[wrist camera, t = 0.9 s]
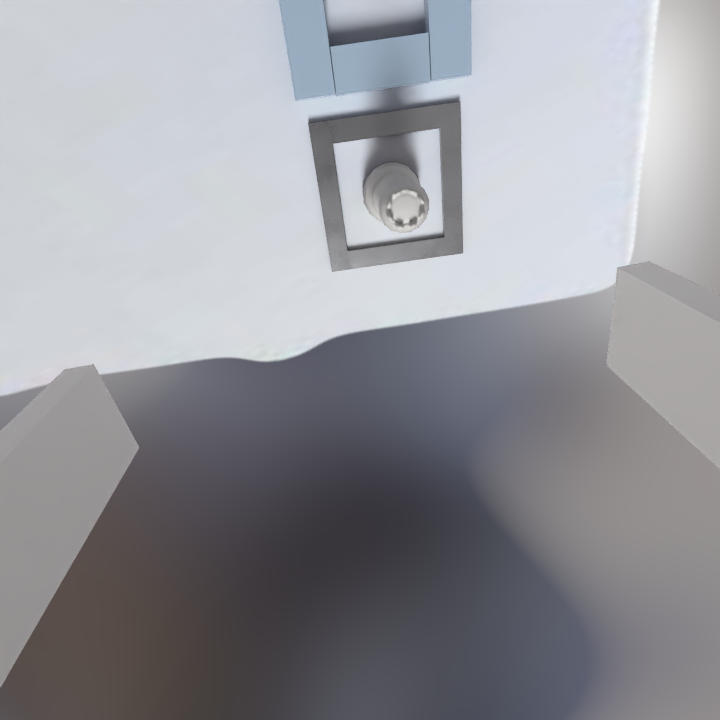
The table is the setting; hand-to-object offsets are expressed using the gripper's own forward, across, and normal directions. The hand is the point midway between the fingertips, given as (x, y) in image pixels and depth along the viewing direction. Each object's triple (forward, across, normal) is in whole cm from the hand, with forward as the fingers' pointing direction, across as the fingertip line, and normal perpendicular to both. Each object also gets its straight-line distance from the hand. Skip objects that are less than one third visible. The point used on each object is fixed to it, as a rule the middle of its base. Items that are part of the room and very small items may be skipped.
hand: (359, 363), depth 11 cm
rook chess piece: (+27, +4, 0) cm, 27 cm away
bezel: (+27, +4, 0) cm, 27 cm away
